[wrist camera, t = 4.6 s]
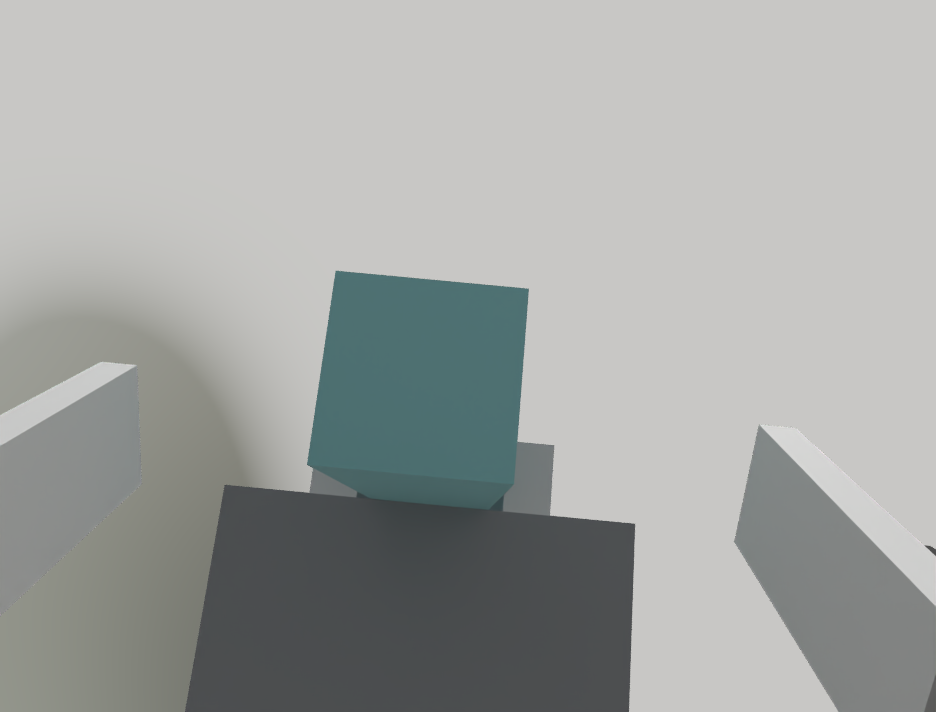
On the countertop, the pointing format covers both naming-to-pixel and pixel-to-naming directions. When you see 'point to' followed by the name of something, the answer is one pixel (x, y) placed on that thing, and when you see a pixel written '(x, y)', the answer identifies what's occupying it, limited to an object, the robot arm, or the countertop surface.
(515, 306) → the teal rectangular bar
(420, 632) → the block
